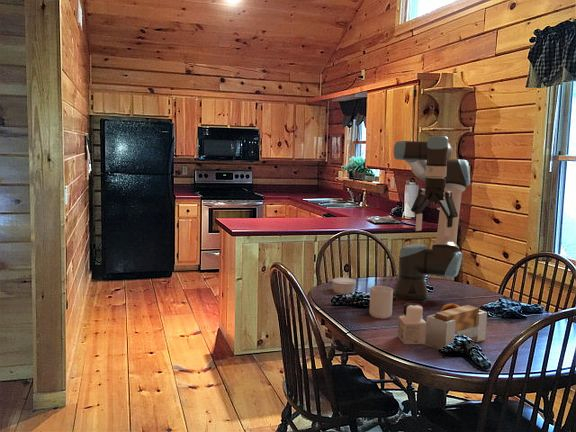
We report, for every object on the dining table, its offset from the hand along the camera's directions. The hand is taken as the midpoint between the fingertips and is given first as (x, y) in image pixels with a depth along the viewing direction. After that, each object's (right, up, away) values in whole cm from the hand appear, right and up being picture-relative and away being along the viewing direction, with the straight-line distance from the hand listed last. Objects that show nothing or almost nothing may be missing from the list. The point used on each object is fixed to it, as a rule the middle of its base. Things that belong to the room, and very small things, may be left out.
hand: (432, 233), depth 206 cm
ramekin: (-29, -29, +44) cm, 60 cm away
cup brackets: (+3, -37, -18) cm, 42 cm away
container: (-12, -37, -17) cm, 43 cm away
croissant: (+10, -35, +7) cm, 37 cm away
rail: (+3, -33, -19) cm, 38 cm away
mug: (-18, -33, +11) cm, 39 cm away
